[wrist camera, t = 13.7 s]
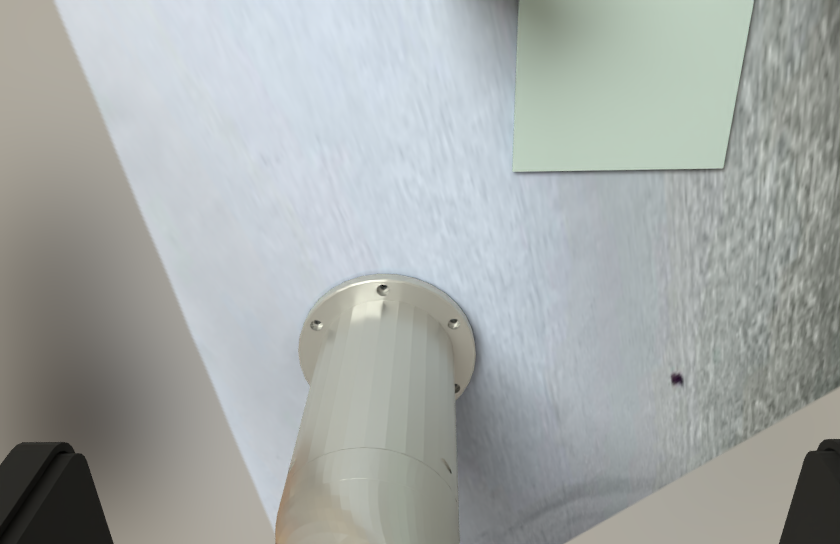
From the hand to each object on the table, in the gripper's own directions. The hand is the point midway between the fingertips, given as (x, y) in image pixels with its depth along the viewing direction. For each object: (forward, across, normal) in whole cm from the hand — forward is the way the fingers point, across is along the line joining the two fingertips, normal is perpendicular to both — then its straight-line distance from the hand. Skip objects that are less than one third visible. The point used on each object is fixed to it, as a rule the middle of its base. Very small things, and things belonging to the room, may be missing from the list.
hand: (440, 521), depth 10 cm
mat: (+36, -11, +2) cm, 38 cm away
